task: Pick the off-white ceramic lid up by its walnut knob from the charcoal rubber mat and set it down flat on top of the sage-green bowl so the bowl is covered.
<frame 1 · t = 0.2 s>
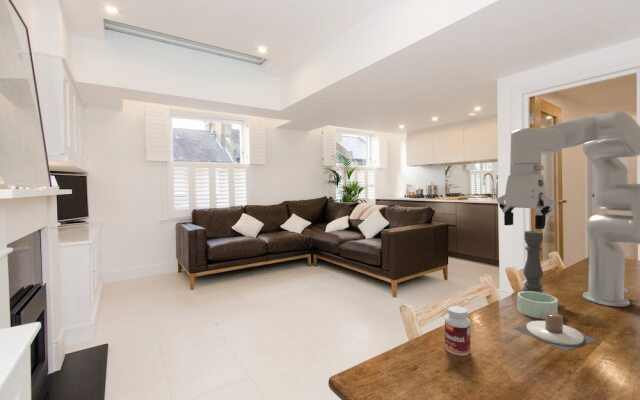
hand: (523, 226, 95), 30 cm above the table, tool pointing down, fingers open, 9 cm apart
lid: (553, 333, 89), resting on mat
bowl: (536, 313, 105), on the table
candle holder: (532, 297, 119), on the table
pill bottle: (457, 351, 82), on the table
mat: (553, 335, 89), on the table
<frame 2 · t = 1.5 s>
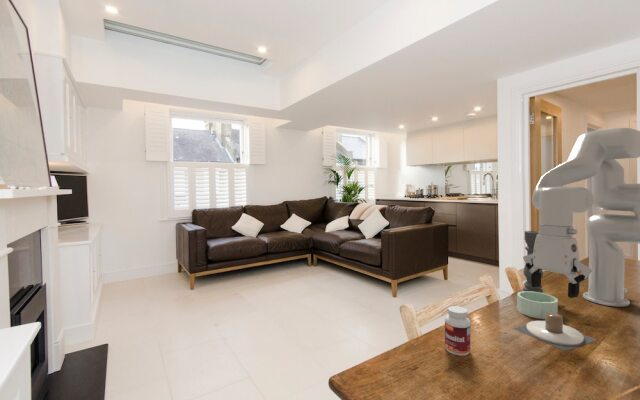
hand: (553, 291, 89), 13 cm above the table, tool pointing down, fingers open, 9 cm apart
nothing on the table moved.
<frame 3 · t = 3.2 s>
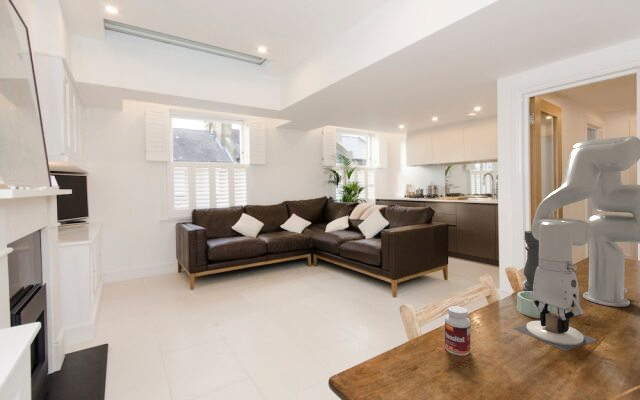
hand: (553, 328, 89), 2 cm above the table, tool pointing down, fingers closed on lid, 4 cm apart
lid: (553, 333, 89), resting on mat, touching gripper
everything else where it was.
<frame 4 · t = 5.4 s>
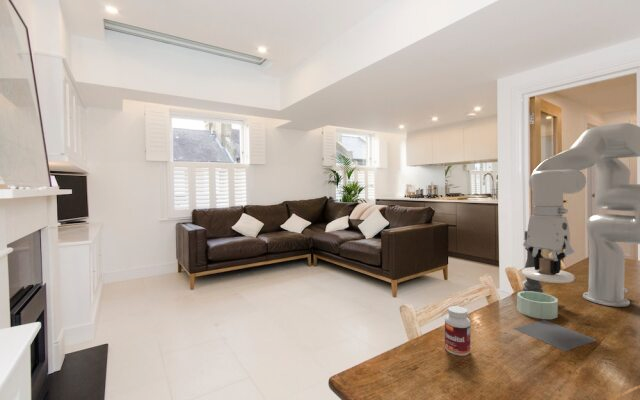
hand: (547, 270, 96), 17 cm above the table, tool pointing down, fingers closed on lid, 4 cm apart
lid: (546, 276, 96), point 15 cm above the table, touching gripper
everything else where it was.
when the fingers open (9 cm above the table, at t = 7.9 s): lid drops 2 cm, resting on bowl.
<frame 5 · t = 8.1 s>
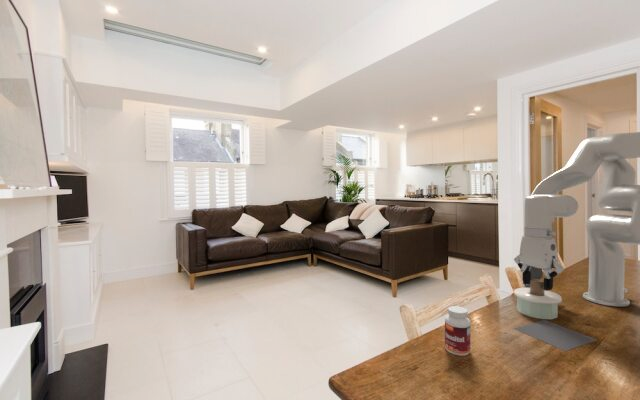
hand: (537, 286, 104), 9 cm above the table, tool pointing down, fingers open, 6 cm apart
lid: (537, 296, 104), point 5 cm above the table, touching bowl
everything else where it was.
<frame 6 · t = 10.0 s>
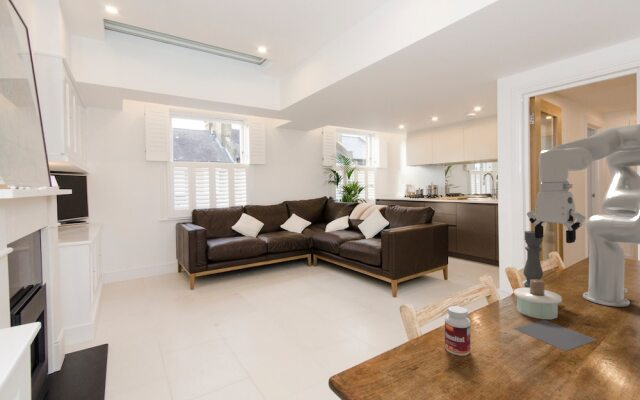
hand: (554, 240, 102), 25 cm above the table, tool pointing down, fingers open, 9 cm apart
nothing on the table moved.
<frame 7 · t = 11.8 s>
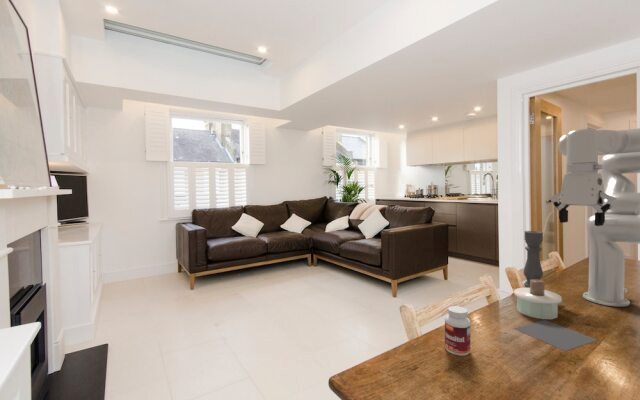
hand: (580, 223, 99), 30 cm above the table, tool pointing down, fingers open, 9 cm apart
nothing on the table moved.
at the end: lid 0.0 cm off-centre on the bowl, point 5.5 cm above the bowl's base; lid tilted 0°; the gripper is holding nothing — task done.
